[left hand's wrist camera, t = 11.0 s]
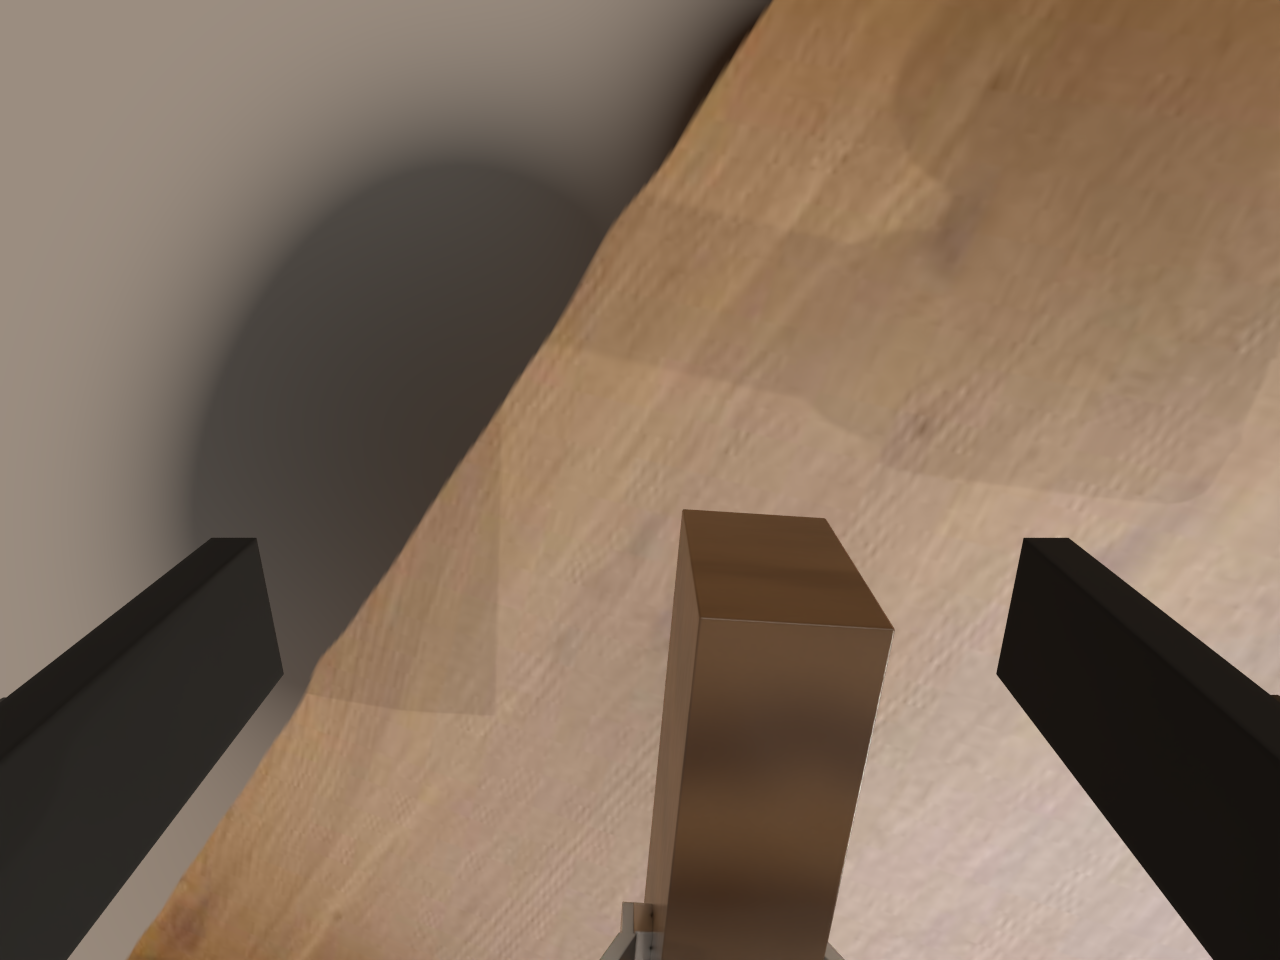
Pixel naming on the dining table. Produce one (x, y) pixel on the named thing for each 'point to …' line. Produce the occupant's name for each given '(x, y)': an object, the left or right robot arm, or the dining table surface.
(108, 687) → the left robot arm
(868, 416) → the dining table surface
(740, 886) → the box
